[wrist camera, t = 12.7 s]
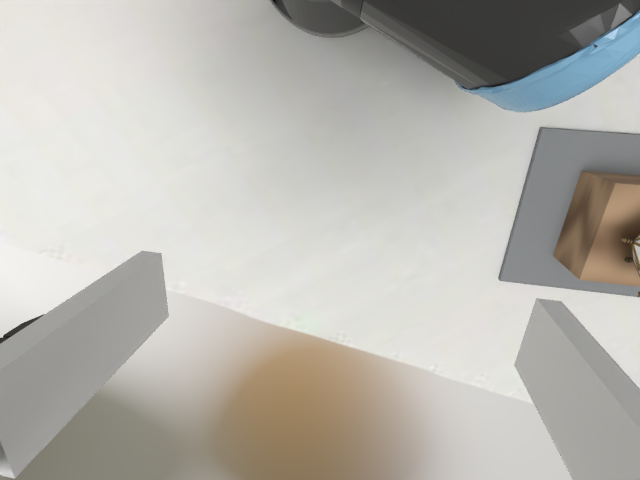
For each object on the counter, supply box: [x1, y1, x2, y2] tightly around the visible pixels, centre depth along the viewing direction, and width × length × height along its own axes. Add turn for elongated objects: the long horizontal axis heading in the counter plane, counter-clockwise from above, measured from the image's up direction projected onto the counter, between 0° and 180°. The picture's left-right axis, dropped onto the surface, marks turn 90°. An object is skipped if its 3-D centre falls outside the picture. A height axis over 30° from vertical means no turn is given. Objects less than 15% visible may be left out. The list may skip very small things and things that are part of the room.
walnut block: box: [553, 171, 640, 287], centre depth 37 cm, size 10×10×6 cm
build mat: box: [498, 128, 640, 297], centre depth 40 cm, size 18×18×1 cm
